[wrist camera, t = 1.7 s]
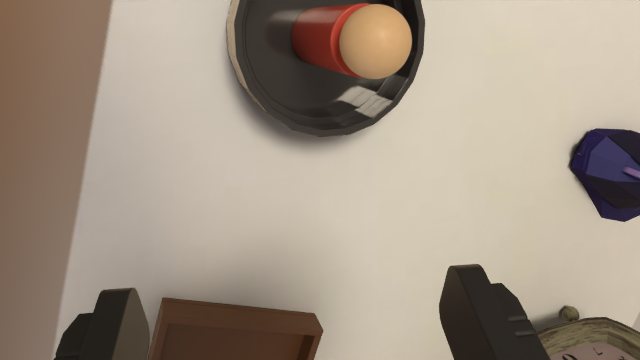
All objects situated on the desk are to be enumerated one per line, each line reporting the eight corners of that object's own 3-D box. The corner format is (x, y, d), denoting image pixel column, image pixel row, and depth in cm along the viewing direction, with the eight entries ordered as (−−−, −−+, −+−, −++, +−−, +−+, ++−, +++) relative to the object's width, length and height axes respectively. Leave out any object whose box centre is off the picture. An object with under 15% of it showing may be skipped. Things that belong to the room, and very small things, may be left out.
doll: (301, 72, 35) (365, 96, 24) (283, 18, 34) (342, 16, 22) (349, 54, 36) (434, 68, 25) (334, -1, 34) (417, -11, 23)
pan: (264, 148, 37) (276, 164, 32) (196, -28, 32) (200, -35, 27) (412, 88, 39) (441, 96, 35) (370, -86, 34) (399, -101, 30)
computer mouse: (638, 233, 52) (673, 249, 48) (545, 192, 46) (577, 207, 43) (683, 156, 50) (723, 167, 47) (592, 103, 45) (630, 111, 41)
